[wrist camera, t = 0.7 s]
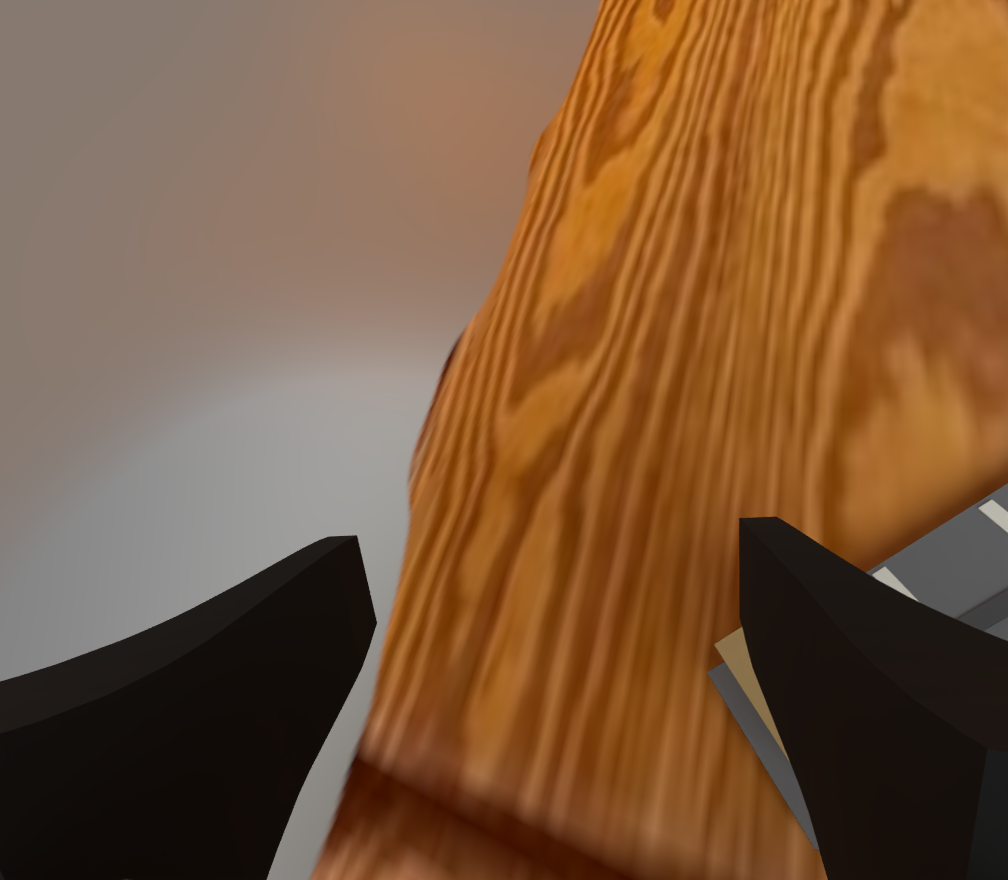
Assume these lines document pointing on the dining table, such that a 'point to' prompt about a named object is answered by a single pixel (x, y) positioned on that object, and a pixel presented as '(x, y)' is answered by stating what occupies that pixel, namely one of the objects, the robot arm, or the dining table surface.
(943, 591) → the board
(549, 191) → the dining table surface
